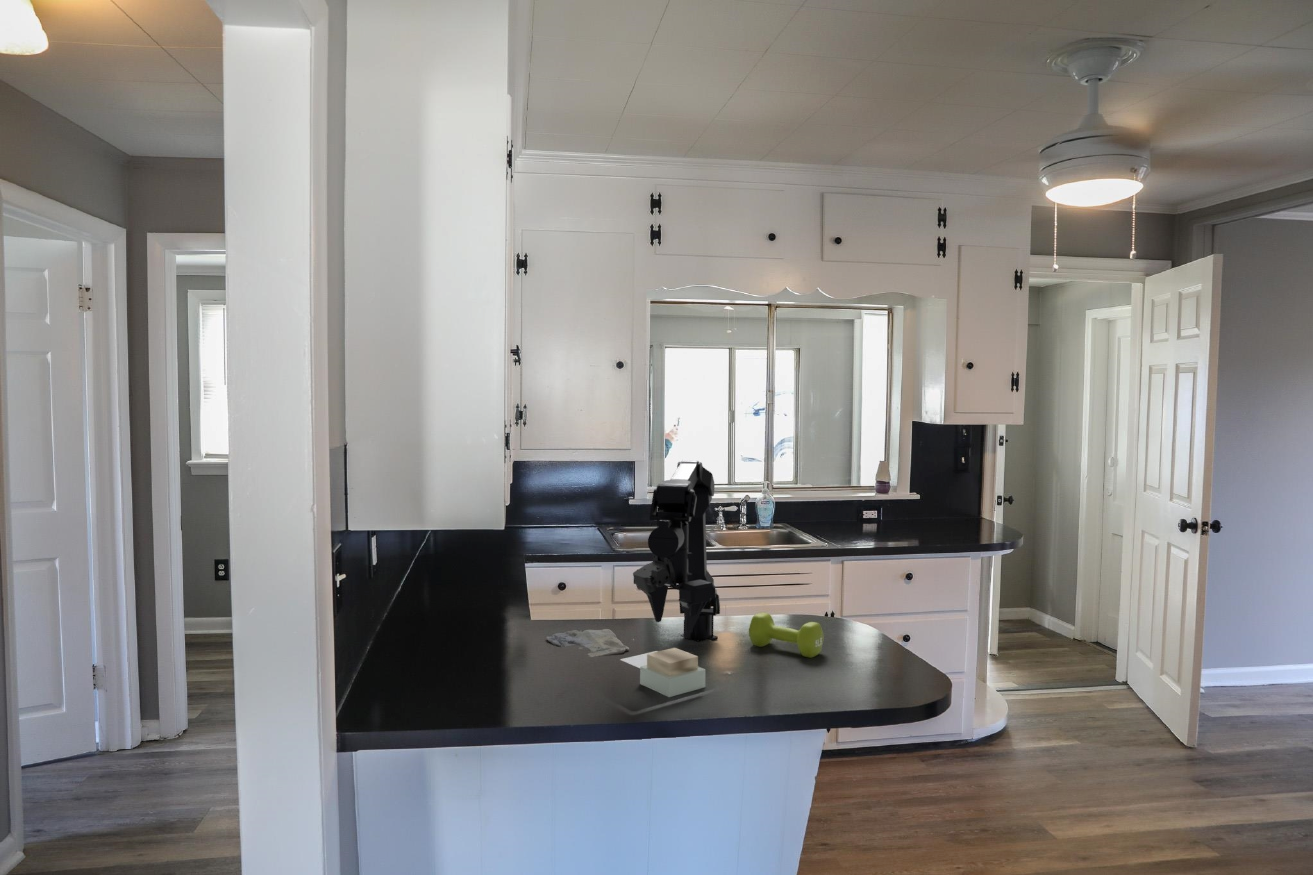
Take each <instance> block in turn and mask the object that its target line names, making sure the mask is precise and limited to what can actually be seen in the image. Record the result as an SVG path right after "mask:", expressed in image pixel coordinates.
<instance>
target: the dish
mask: <svg viewBox="0 0 1313 875" xmlns="http://www.w3.org/2000/svg"><path fill="white" fill-rule="evenodd" d="M639 669H640V670H639V684H640V685H641V686H644V687H646V688H649V689H650V690H653V691H655V692H657V693H658V694H659V693H660V694H661V695H663V696H666V697H667V698H671V697H674V696H678V695H682V694H685V693H689V692H693V691H696V690H701V689H703V688H706V671H707V670H706V669H705V668H704V667H700V666H698V669H696V670H693V671H689V672H685V673H681V674H677V675H674V676H668V675H665V674H663V673H660V672H658V671H656V670H653V669H651V668H648V667H647V665H644V666H640V668H639Z"/></svg>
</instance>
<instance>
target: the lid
mask: <svg viewBox="0 0 1313 875" xmlns="http://www.w3.org/2000/svg"><path fill="white" fill-rule="evenodd" d="M653 652H654V651H653ZM649 653H650V652H649ZM647 667H648V668H651V669H653V670H656V671H658V672H660V673H663V674H665V675H668V676H674V675H677V674H681V673H685V672H689V671H693V670H696V669H698V667H699V656H698V655H695V654H692V653H690V652H687V651H684V650H682V649H679V648H677V647H671V648H668V649H663V650H659V651H658V652H654V653H650V654H647Z"/></svg>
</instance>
